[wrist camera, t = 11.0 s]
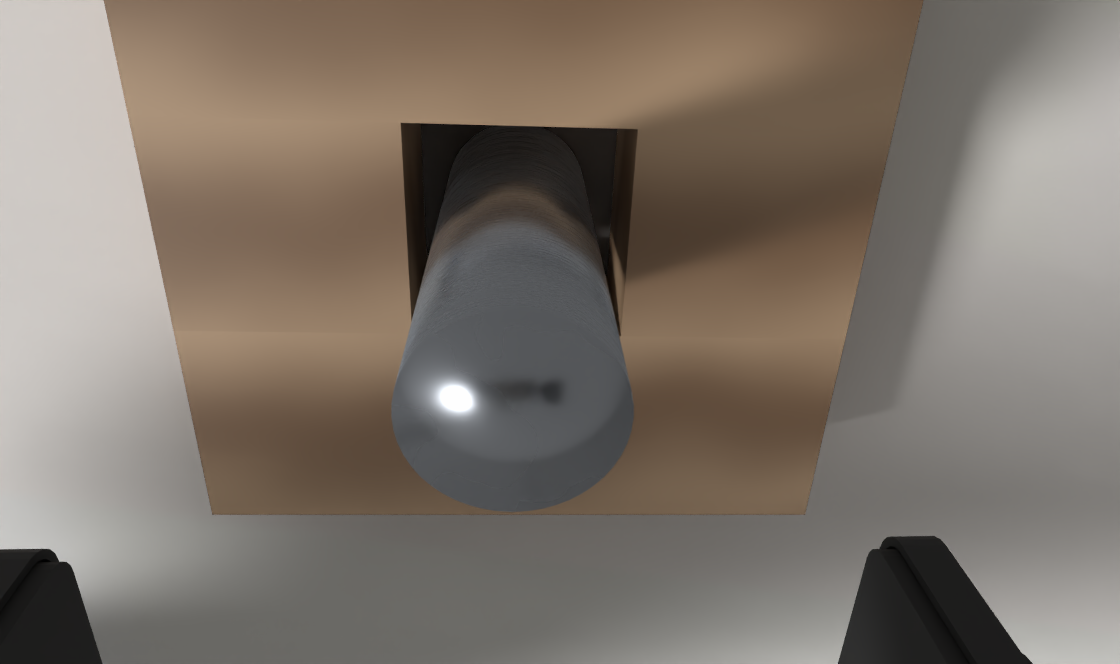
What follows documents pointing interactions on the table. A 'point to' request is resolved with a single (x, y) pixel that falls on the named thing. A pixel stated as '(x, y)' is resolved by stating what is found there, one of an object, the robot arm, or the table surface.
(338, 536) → the table surface
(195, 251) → the socket
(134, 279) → the table surface
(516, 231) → the peg
